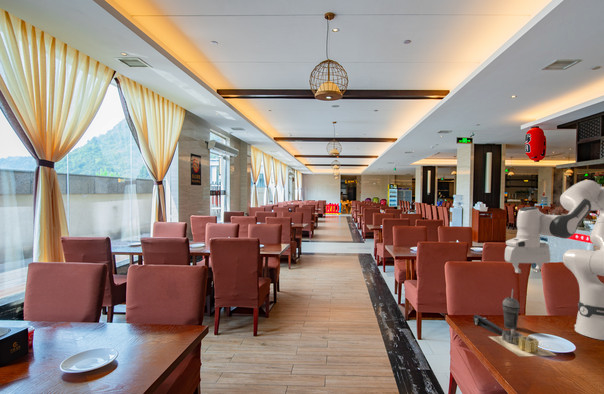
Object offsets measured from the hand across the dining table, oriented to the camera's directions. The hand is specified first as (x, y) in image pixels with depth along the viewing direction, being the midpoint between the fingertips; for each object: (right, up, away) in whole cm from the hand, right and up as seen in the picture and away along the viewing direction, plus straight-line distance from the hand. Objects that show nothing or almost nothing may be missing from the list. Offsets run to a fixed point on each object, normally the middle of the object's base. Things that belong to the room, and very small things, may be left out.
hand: (527, 272), depth 149 cm
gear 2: (-11, -28, -16) cm, 34 cm away
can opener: (-15, -29, +5) cm, 33 cm away
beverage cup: (-3, -29, +7) cm, 30 cm away
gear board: (-11, -29, -12) cm, 33 cm away
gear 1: (-12, -28, -8) cm, 31 cm away
